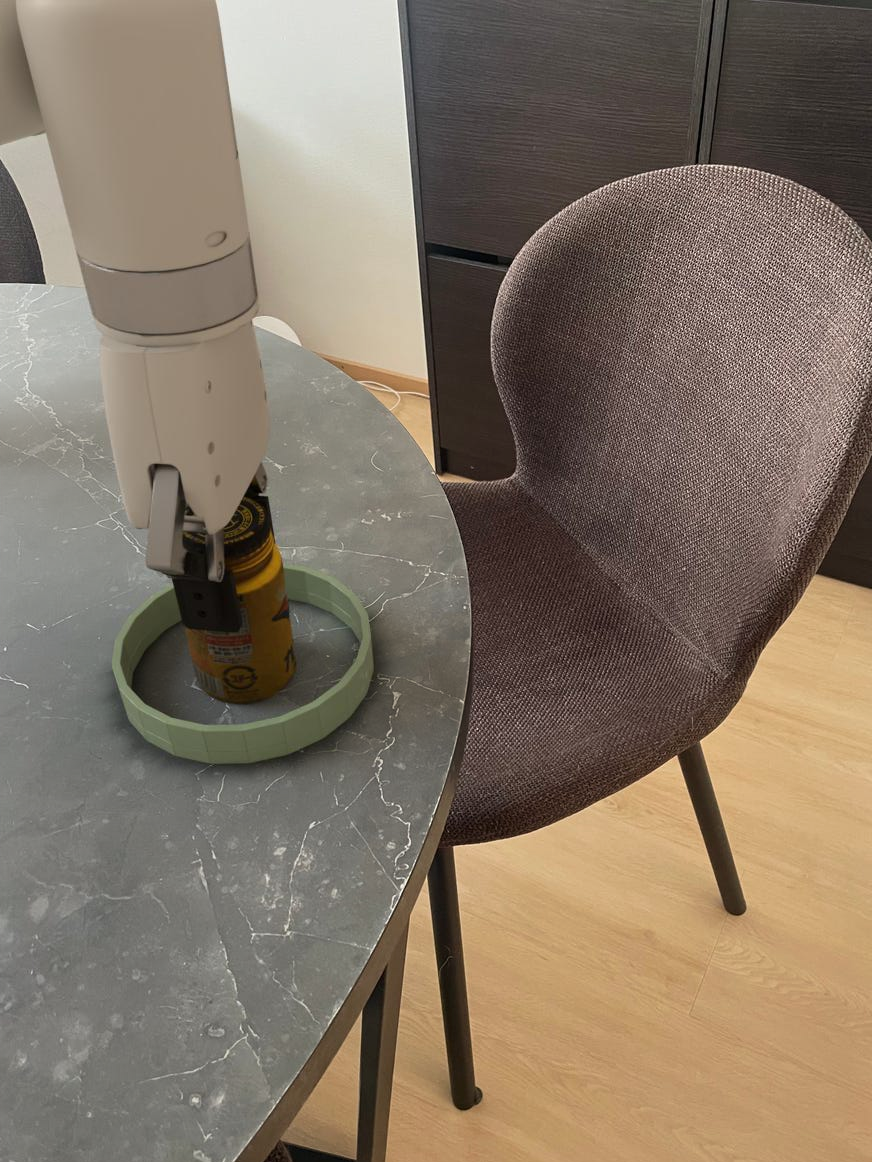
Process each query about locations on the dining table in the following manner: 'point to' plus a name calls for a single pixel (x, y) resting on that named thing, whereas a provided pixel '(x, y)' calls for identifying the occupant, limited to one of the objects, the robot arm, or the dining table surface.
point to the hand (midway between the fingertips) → (231, 586)
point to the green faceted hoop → (261, 735)
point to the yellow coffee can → (247, 614)
